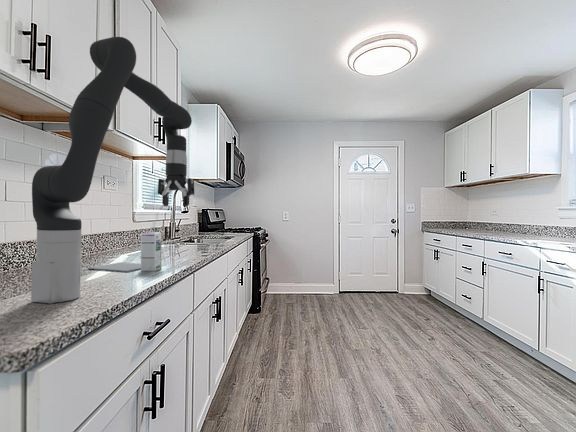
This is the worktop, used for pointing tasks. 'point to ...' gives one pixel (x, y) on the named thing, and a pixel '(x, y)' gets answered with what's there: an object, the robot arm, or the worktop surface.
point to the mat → (119, 267)
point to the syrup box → (150, 251)
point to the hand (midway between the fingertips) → (175, 206)
